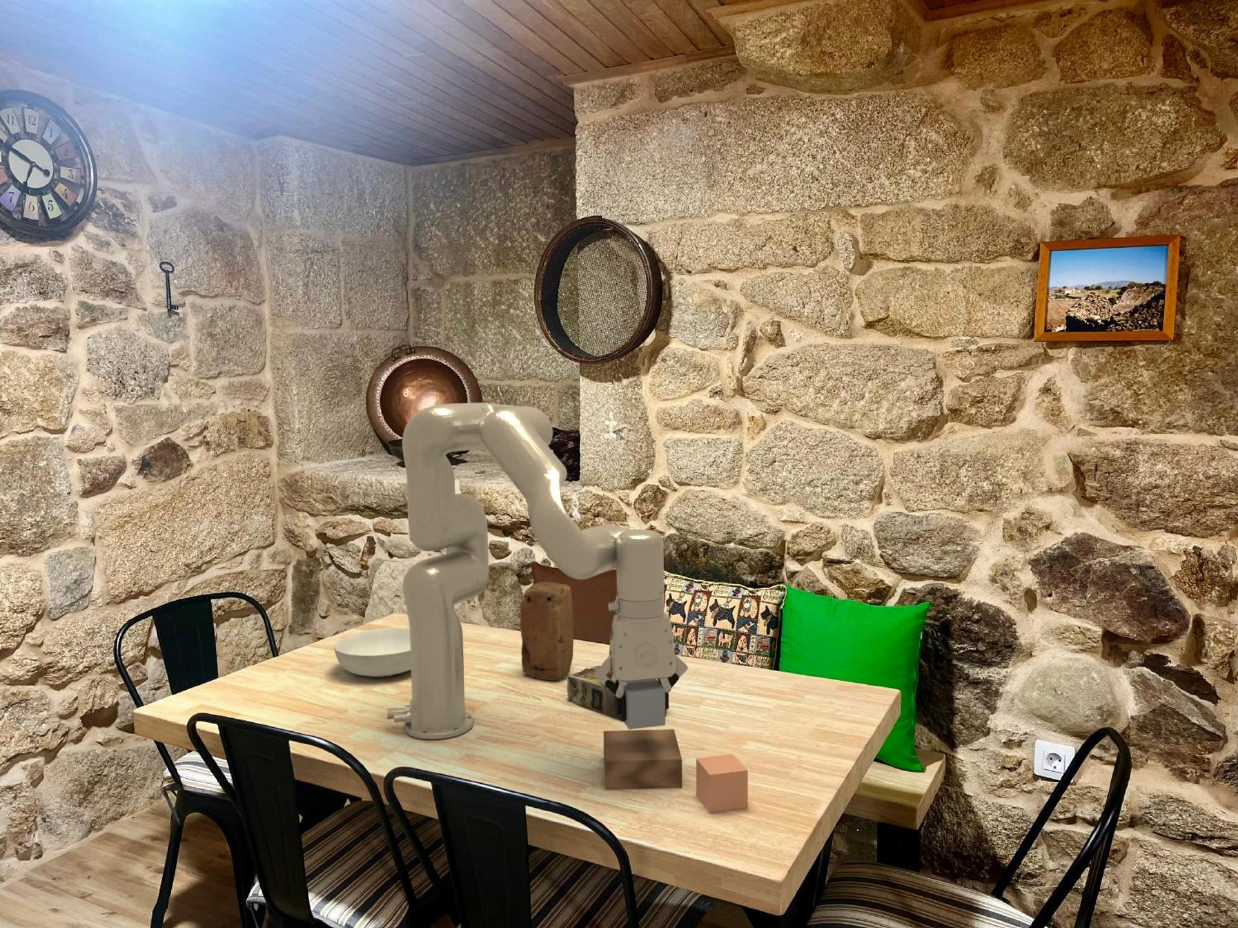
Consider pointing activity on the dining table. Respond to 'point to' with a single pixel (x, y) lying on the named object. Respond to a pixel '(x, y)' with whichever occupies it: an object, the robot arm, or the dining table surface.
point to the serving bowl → (375, 652)
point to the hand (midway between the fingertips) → (642, 715)
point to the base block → (642, 759)
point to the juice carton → (591, 692)
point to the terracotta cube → (721, 783)
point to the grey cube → (644, 704)
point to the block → (547, 630)
